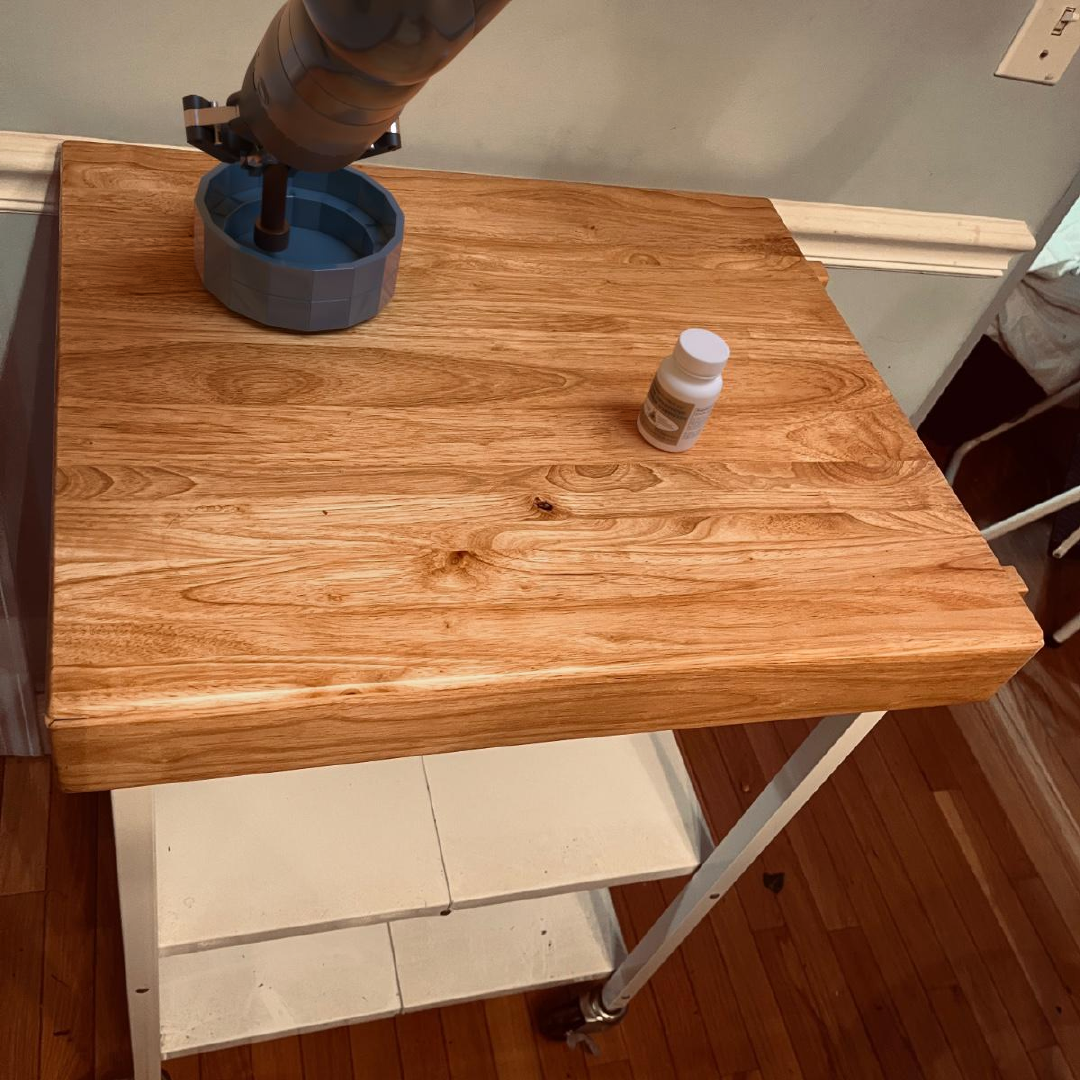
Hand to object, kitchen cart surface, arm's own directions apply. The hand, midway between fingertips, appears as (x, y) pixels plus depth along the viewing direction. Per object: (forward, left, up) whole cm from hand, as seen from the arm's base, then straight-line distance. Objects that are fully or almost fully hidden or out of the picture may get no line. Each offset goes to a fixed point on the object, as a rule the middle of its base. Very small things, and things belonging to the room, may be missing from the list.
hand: (268, 161), depth 72 cm
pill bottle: (+11, -30, -7) cm, 32 cm away
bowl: (0, -4, -7) cm, 8 cm away
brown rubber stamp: (-1, -2, -5) cm, 5 cm away
